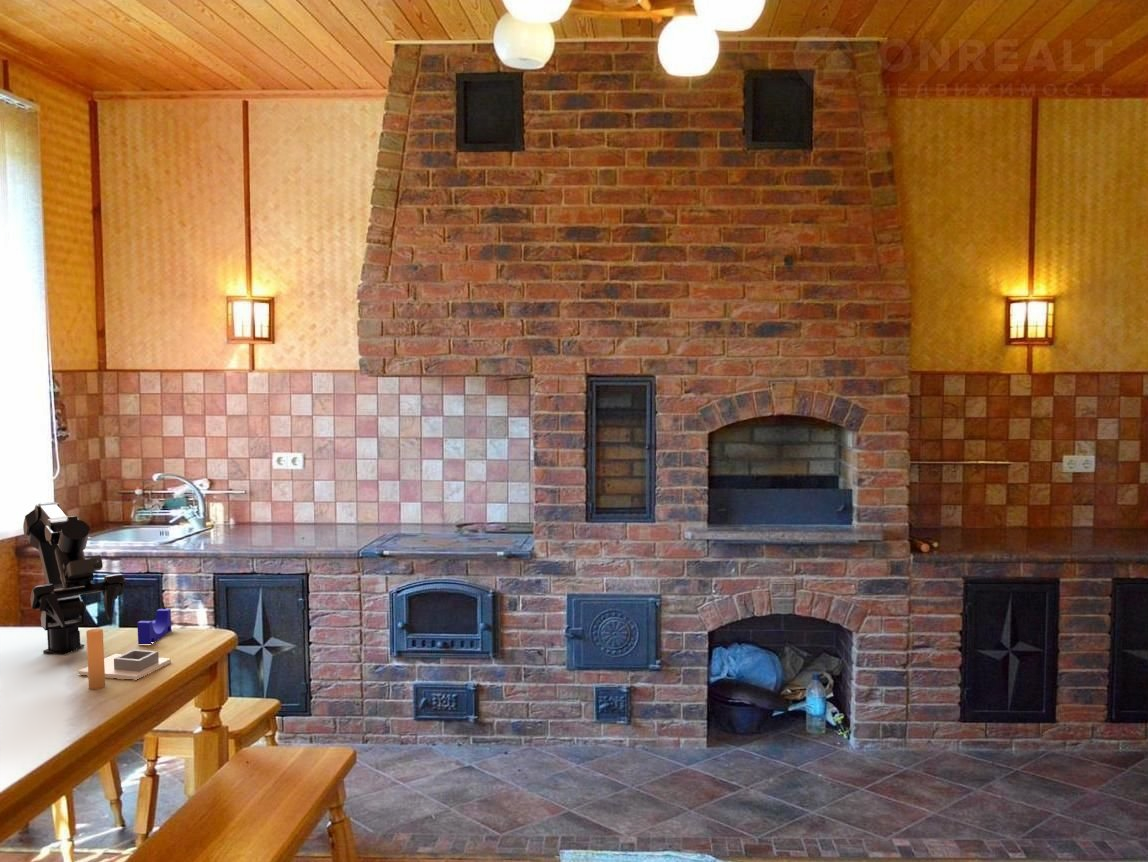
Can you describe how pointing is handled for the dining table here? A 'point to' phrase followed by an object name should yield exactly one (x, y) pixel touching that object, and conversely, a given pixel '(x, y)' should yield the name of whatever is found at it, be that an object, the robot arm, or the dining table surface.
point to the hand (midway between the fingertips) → (86, 622)
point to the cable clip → (154, 627)
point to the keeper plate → (131, 664)
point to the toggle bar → (95, 658)
